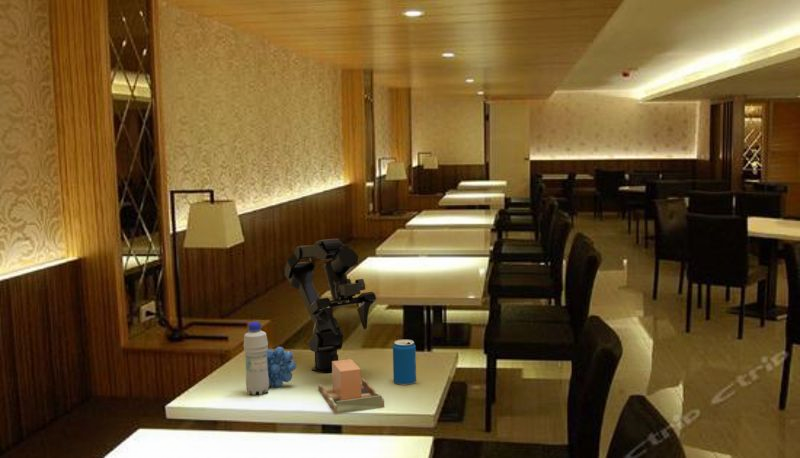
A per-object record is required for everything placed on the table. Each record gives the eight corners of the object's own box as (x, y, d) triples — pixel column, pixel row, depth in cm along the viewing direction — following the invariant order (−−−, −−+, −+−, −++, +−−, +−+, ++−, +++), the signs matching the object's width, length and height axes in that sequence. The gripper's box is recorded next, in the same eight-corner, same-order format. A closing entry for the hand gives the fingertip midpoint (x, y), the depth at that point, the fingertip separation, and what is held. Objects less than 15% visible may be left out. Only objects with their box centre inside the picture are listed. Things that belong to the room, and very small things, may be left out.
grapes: (299, 383, 217) (298, 342, 216) (295, 390, 211) (294, 348, 209) (259, 383, 218) (257, 342, 216) (254, 391, 211) (252, 349, 210)
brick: (332, 389, 210) (331, 361, 209) (352, 386, 211) (351, 359, 210) (341, 400, 200) (340, 371, 199) (361, 398, 202) (360, 369, 201)
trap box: (318, 391, 210) (318, 378, 210) (363, 385, 214) (363, 373, 214) (335, 415, 191) (334, 402, 191) (384, 408, 195) (384, 395, 195)
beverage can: (414, 387, 211) (413, 345, 210) (391, 386, 213) (390, 344, 211) (418, 380, 218) (417, 339, 216) (396, 379, 219) (395, 338, 218)
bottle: (250, 398, 206) (246, 326, 203) (242, 391, 211) (239, 321, 209) (273, 393, 209) (270, 322, 206) (265, 386, 215) (262, 317, 212)
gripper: (318, 273, 207) (331, 327, 202) (377, 266, 216) (392, 317, 212) (304, 287, 216) (317, 339, 211) (361, 280, 225) (375, 329, 221)
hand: (351, 331), depth 213 cm, fingers open, 9 cm apart
